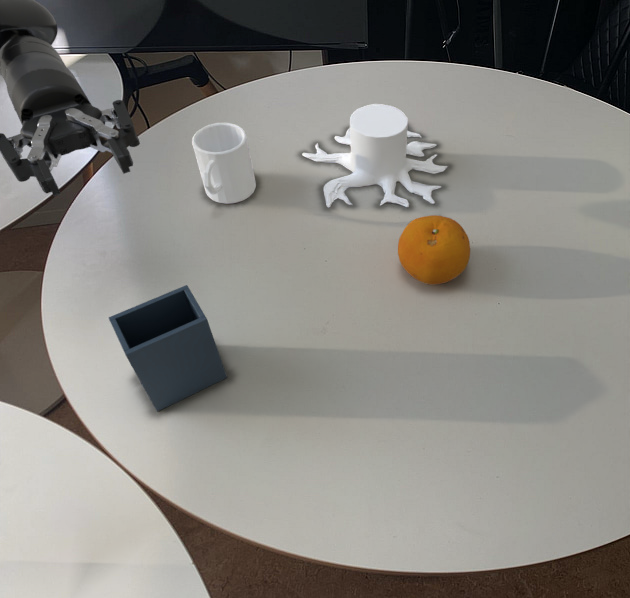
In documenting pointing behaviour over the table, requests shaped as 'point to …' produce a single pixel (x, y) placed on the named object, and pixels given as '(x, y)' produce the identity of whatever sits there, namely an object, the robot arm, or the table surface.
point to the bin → (169, 347)
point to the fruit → (434, 249)
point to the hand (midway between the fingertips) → (90, 176)
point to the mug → (224, 162)
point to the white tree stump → (378, 155)
